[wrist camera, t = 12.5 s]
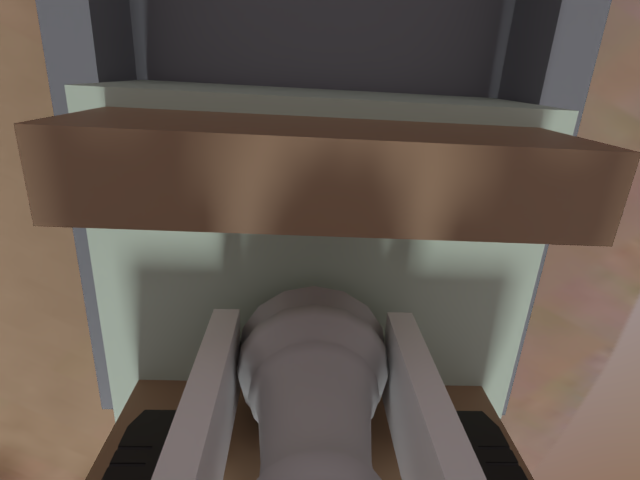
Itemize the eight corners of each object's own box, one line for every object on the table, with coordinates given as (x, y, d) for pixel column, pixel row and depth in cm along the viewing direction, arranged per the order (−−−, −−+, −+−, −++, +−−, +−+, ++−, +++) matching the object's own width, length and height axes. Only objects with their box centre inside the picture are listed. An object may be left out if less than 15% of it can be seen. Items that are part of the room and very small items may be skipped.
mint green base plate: (165, 340, 21) (59, 547, 12) (142, 79, 17) (-50, 92, 8) (447, 346, 22) (550, 547, 13) (492, 97, 18) (699, 129, 9)
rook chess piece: (216, 308, 13) (103, 620, 6) (355, 257, 13) (430, 523, 5) (274, 415, 15) (245, 768, 7) (401, 373, 14) (507, 704, 7)
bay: (135, 353, 23) (102, 408, 19) (48, -355, 13) (-49, -517, 10) (473, 360, 24) (504, 415, 20) (613, -299, 14) (721, -428, 11)
